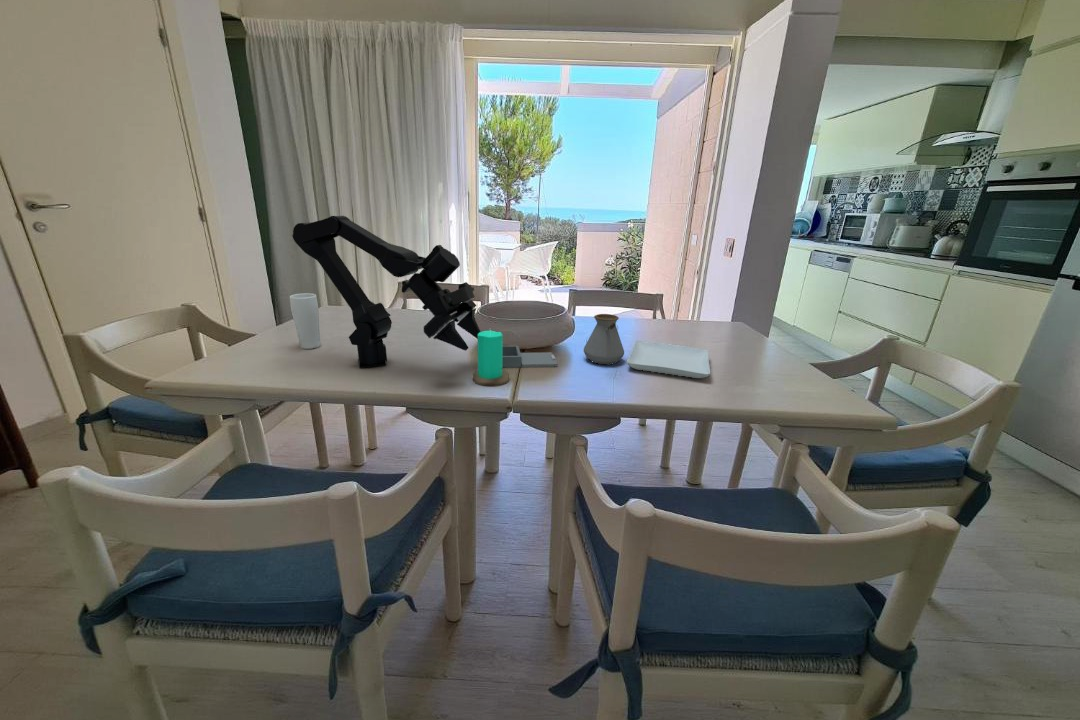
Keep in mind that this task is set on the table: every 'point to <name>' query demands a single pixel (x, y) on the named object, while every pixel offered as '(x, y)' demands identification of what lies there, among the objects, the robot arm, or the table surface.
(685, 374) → the salad plate
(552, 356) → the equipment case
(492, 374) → the candle
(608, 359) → the coffee pot
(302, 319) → the drinking glass
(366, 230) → the robot arm
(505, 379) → the coaster
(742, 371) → the table surface
